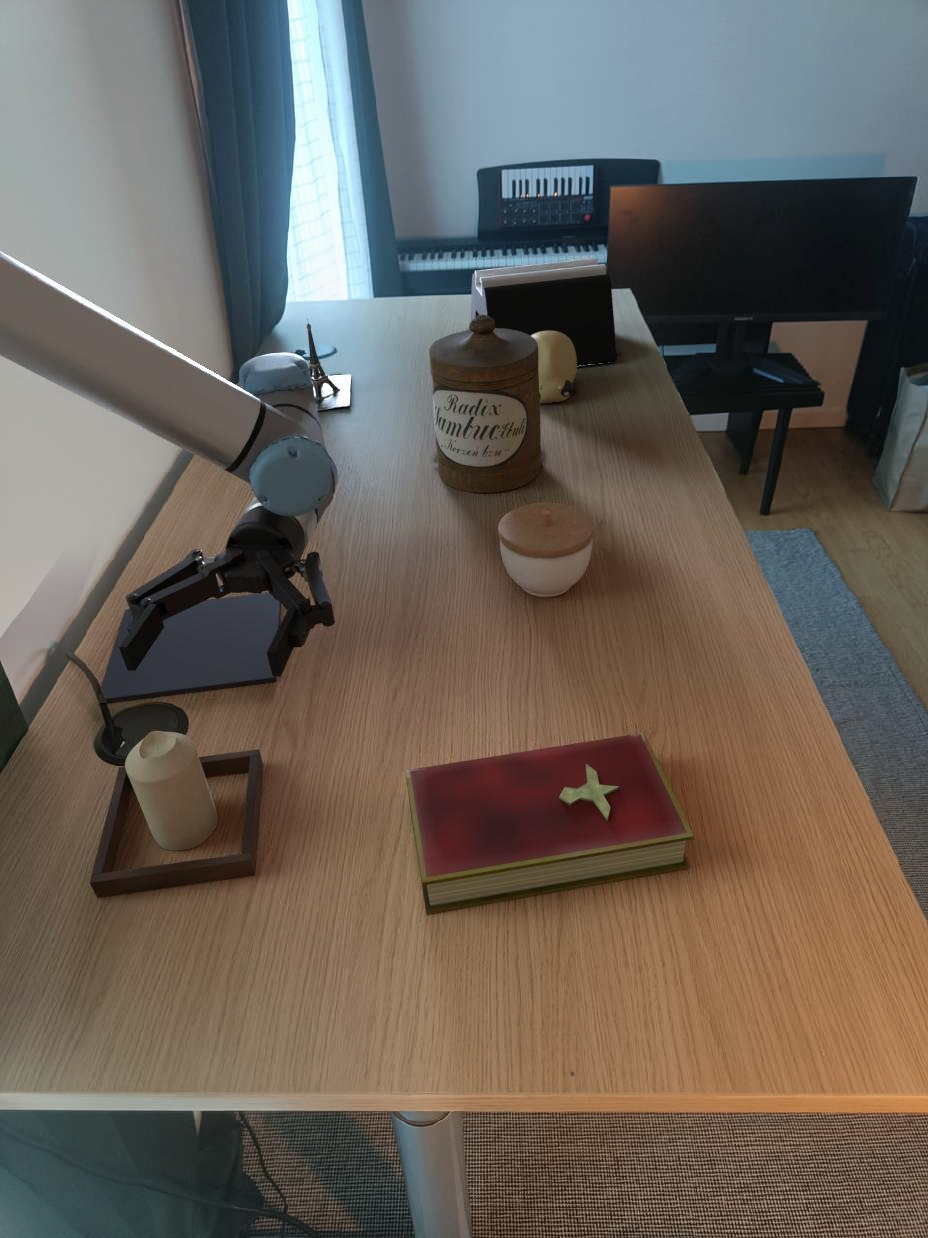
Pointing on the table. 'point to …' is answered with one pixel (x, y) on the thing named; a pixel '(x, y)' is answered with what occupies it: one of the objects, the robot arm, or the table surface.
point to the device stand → (552, 303)
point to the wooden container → (486, 407)
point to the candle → (172, 790)
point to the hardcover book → (544, 822)
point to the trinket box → (546, 546)
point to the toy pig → (555, 366)
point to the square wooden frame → (187, 871)
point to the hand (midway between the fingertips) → (199, 662)
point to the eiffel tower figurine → (327, 382)
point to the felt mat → (200, 650)
